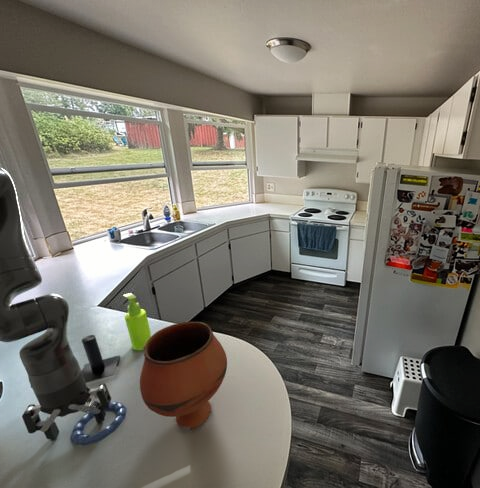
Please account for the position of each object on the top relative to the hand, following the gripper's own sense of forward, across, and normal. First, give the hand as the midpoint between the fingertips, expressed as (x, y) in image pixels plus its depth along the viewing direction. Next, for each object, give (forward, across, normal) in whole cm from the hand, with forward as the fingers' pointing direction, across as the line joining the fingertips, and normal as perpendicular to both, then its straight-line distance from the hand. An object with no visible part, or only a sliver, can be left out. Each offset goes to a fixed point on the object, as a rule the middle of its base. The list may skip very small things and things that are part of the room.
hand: (78, 428), depth 61 cm
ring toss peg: (+1, +1, -21) cm, 21 cm away
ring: (0, -4, 0) cm, 4 cm away
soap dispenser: (+1, -9, -30) cm, 31 cm away
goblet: (+2, -25, +7) cm, 26 cm away
